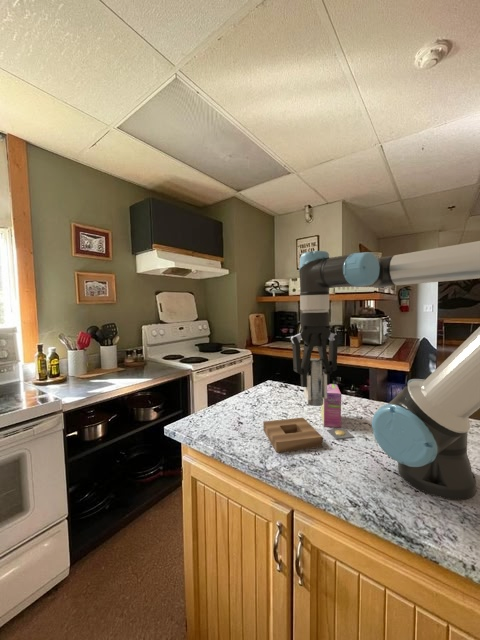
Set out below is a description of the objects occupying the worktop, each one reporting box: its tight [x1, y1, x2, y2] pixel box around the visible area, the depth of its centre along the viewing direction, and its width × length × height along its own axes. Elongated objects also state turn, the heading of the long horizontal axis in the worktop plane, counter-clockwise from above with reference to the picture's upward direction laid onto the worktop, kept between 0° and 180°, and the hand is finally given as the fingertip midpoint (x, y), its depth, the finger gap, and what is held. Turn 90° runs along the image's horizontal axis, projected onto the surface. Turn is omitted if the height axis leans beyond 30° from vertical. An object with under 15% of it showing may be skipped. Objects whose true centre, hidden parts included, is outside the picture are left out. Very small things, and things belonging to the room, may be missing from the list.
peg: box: [307, 357, 323, 407], centre depth 76 cm, size 4×4×12 cm
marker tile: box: [326, 427, 355, 441], centre depth 89 cm, size 6×6×1 cm
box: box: [320, 383, 342, 429], centre depth 99 cm, size 10×6×12 cm, turn 169°
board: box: [262, 417, 323, 453], centre depth 87 cm, size 14×14×3 cm
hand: (315, 397), depth 76 cm, fingers closed on peg, 4 cm apart
